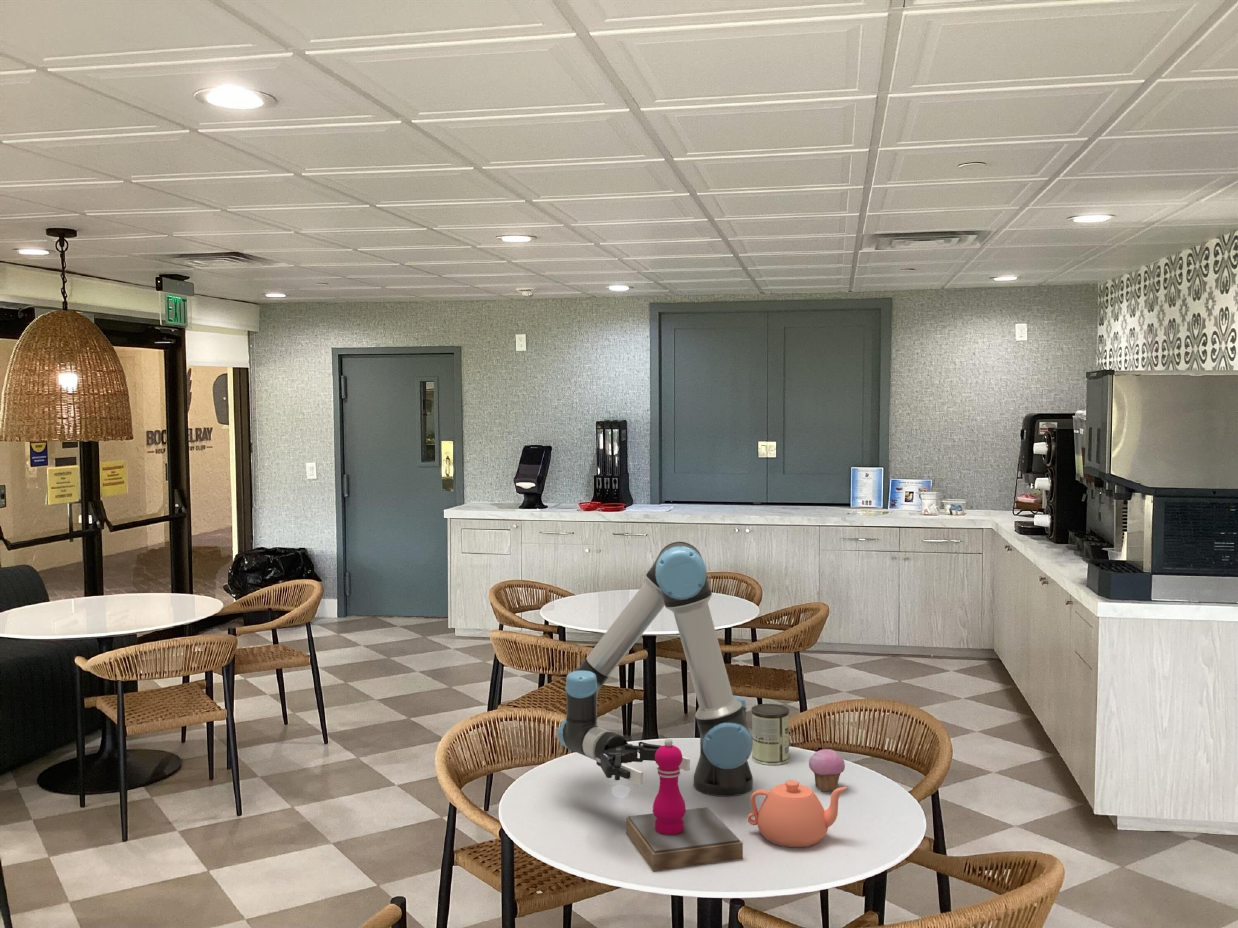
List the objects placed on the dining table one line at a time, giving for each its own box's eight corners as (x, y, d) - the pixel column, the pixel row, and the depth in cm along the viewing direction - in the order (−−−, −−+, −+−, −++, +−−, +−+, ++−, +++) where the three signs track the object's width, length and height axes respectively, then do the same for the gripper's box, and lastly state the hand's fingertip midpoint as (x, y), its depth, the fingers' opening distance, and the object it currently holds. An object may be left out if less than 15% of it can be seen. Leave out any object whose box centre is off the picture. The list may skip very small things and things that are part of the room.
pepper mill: (689, 824, 218) (688, 735, 218) (680, 837, 211) (679, 745, 211) (658, 820, 221) (657, 732, 220) (648, 833, 214) (647, 741, 213)
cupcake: (839, 782, 254) (839, 744, 254) (848, 795, 246) (848, 755, 245) (805, 783, 254) (805, 745, 254) (812, 796, 245) (812, 756, 245)
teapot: (847, 827, 226) (847, 773, 226) (847, 856, 211) (847, 798, 211) (750, 819, 231) (750, 766, 231) (744, 847, 216) (743, 791, 216)
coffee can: (750, 752, 278) (750, 702, 278) (787, 753, 277) (787, 703, 277) (752, 764, 268) (752, 713, 268) (790, 765, 267) (790, 714, 266)
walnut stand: (708, 822, 229) (708, 805, 229) (742, 858, 210) (742, 840, 210) (626, 832, 224) (626, 815, 224) (653, 871, 205) (653, 852, 204)
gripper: (646, 751, 241) (707, 775, 224) (562, 774, 225) (620, 802, 208) (646, 721, 240) (706, 742, 224) (562, 742, 225) (620, 767, 208)
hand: (665, 771), depth 216 cm, fingers open, 13 cm apart
